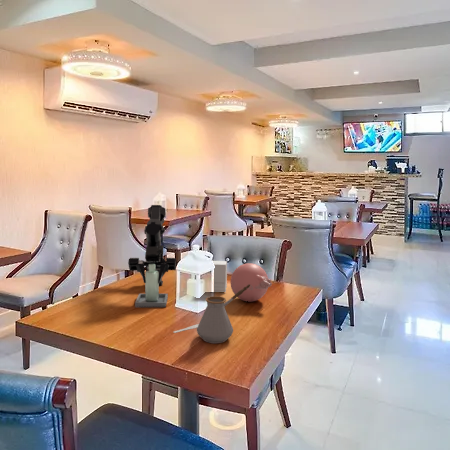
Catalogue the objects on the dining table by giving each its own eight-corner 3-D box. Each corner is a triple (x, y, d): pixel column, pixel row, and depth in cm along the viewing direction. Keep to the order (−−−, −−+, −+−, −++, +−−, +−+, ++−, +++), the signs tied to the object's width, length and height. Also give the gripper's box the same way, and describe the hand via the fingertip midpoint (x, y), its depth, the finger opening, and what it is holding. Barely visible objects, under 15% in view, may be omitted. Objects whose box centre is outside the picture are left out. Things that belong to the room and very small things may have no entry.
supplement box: (226, 288, 184) (227, 260, 182) (225, 293, 176) (226, 264, 174) (210, 287, 184) (211, 260, 182) (208, 292, 177) (208, 263, 175)
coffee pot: (212, 349, 122) (213, 300, 119) (189, 337, 130) (189, 291, 128) (262, 331, 136) (263, 287, 134) (238, 321, 144) (239, 280, 142)
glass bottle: (143, 298, 163) (143, 263, 161) (155, 296, 166) (155, 262, 164) (148, 302, 159) (148, 266, 157) (160, 300, 161) (160, 265, 159)
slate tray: (139, 297, 168) (139, 293, 167) (167, 297, 168) (167, 293, 168) (135, 307, 156) (135, 302, 156) (165, 307, 157) (165, 302, 157)
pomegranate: (252, 313, 153) (253, 272, 151) (222, 298, 169) (223, 261, 167) (283, 306, 161) (285, 268, 159) (252, 292, 178) (253, 258, 176)
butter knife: (204, 325, 139) (199, 323, 141) (140, 343, 124) (136, 340, 127) (204, 327, 139) (199, 324, 142) (140, 344, 124) (136, 341, 127)
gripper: (128, 237, 162) (125, 272, 152) (176, 238, 164) (175, 272, 155) (131, 253, 171) (128, 286, 161) (176, 253, 173) (175, 286, 163)
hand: (151, 282), depth 160 cm, fingers closed on glass bottle, 5 cm apart
